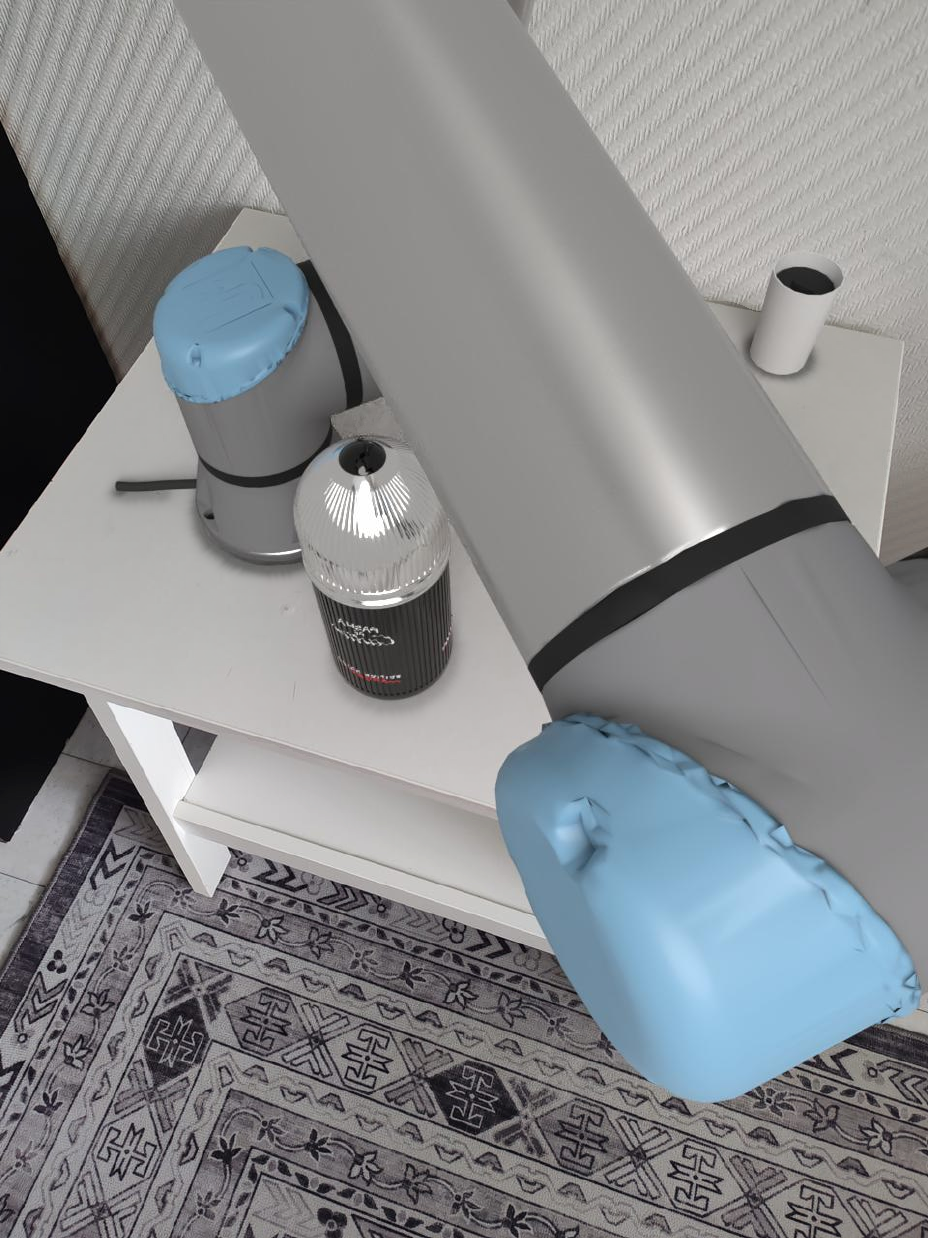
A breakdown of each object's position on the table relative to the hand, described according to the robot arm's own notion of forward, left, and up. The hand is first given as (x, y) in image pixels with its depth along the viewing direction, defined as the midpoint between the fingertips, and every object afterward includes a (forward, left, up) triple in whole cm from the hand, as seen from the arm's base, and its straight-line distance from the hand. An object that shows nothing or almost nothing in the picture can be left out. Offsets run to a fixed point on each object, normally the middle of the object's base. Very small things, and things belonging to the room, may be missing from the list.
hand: (840, 693), depth 53 cm
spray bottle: (-30, +7, -17) cm, 36 cm away
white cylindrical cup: (+1, +49, -17) cm, 52 cm away
